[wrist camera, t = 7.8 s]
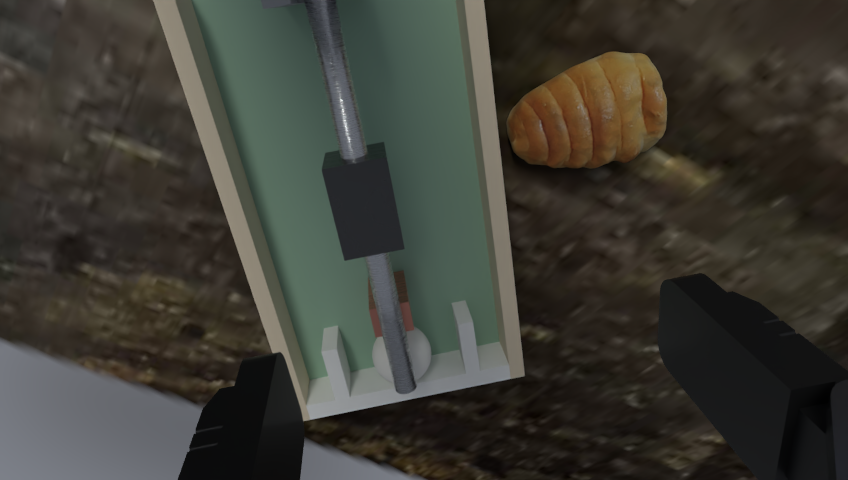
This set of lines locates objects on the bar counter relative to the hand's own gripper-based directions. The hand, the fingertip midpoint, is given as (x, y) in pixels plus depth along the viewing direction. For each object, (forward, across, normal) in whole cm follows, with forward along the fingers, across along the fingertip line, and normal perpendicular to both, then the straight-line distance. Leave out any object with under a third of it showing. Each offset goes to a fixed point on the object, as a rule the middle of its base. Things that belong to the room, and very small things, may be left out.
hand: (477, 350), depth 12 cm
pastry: (+25, -12, +2) cm, 28 cm away
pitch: (+25, +2, +5) cm, 25 cm away
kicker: (+23, +3, +4) cm, 24 cm away
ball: (+21, +2, +15) cm, 26 cm away
